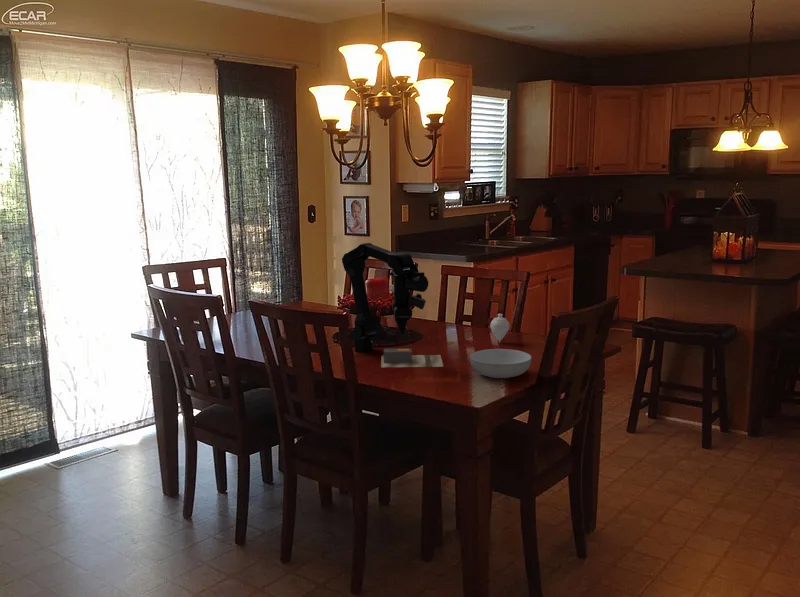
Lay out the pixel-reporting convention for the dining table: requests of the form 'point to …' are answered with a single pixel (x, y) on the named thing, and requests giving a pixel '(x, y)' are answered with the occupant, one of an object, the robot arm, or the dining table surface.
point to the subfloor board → (417, 362)
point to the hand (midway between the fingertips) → (401, 331)
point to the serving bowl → (500, 362)
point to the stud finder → (397, 356)
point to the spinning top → (499, 327)
